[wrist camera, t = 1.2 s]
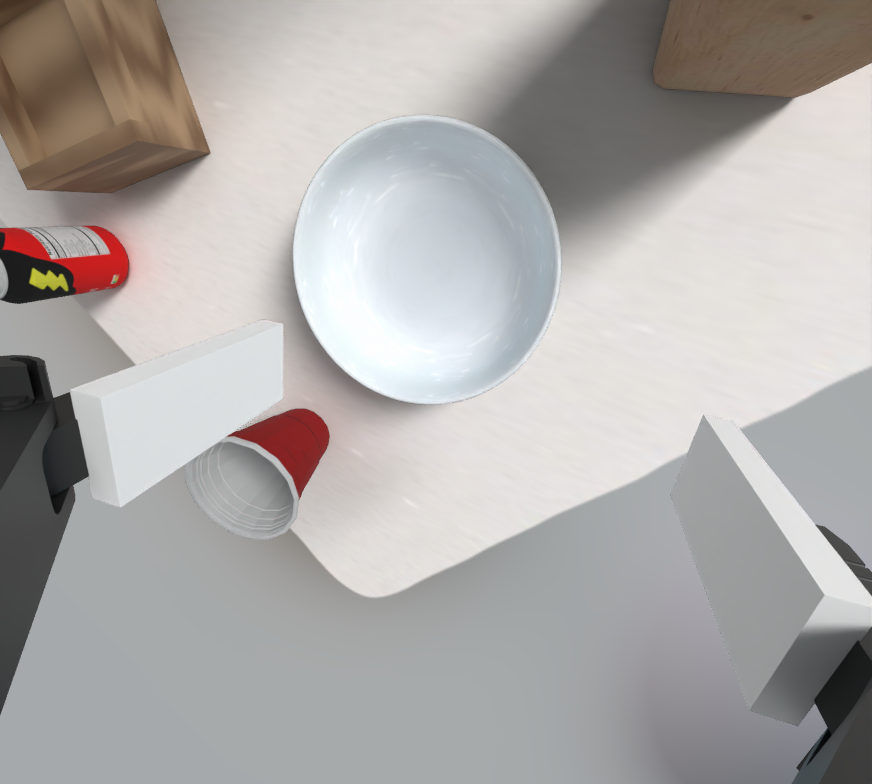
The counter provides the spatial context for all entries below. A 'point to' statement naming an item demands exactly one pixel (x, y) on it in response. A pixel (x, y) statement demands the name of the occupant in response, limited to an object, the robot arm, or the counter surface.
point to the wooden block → (762, 45)
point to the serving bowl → (427, 259)
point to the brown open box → (92, 94)
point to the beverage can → (58, 262)
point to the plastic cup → (259, 473)
